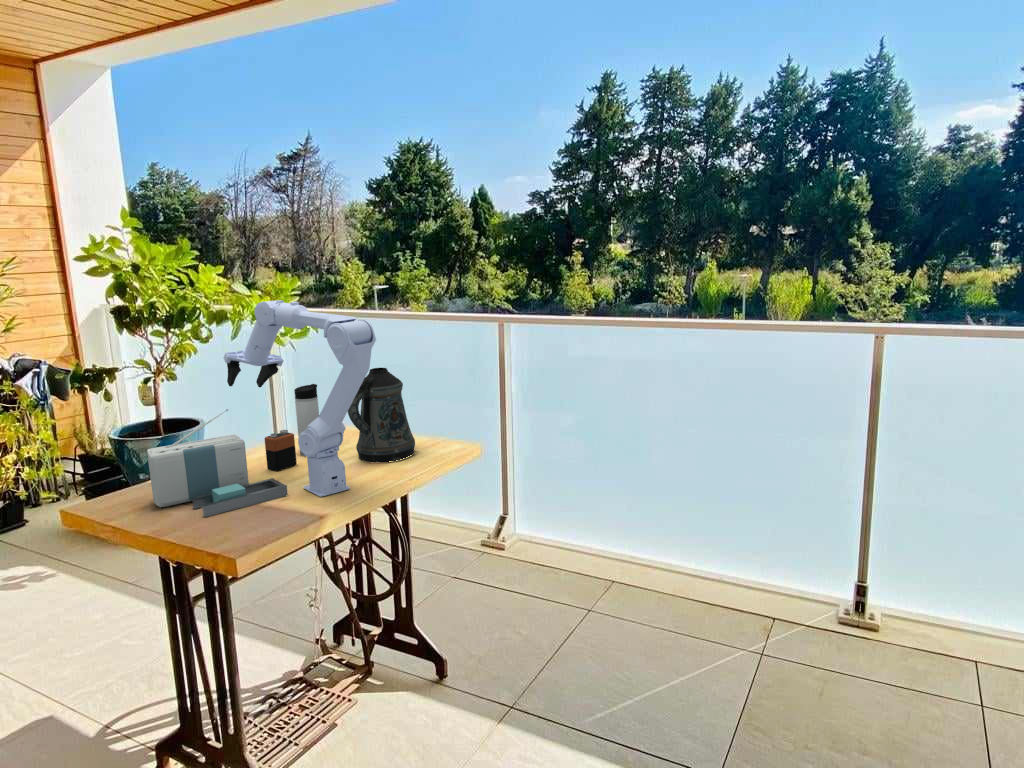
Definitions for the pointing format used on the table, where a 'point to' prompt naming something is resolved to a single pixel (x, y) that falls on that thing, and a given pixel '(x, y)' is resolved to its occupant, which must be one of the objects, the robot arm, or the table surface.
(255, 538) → the table surface
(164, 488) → the stereo radio cassette player
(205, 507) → the chute
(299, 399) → the travel mug
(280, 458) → the battery
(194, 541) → the table surface
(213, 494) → the block
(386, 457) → the beer stein
